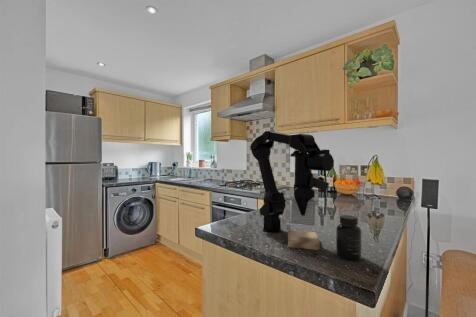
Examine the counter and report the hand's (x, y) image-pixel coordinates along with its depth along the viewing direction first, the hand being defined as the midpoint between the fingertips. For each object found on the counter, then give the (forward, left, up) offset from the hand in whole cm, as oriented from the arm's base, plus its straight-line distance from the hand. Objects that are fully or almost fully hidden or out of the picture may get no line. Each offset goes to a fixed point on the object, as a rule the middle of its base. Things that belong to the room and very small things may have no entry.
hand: (302, 213), depth 78 cm
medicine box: (0, 0, -4) cm, 4 cm away
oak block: (0, 0, -11) cm, 11 cm away
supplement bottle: (+13, -8, -10) cm, 19 cm away
